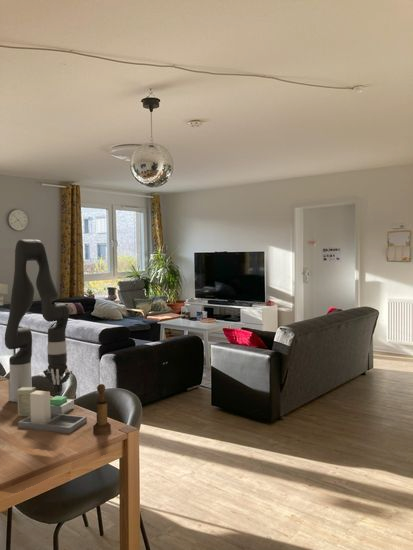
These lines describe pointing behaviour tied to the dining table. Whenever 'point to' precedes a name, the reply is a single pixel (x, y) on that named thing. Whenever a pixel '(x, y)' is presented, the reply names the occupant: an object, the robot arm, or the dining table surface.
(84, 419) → the two-section gray tray
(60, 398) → the button
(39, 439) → the dining table surface
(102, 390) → the brown chess piece
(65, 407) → the button housing
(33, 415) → the block
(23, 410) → the skincare box
